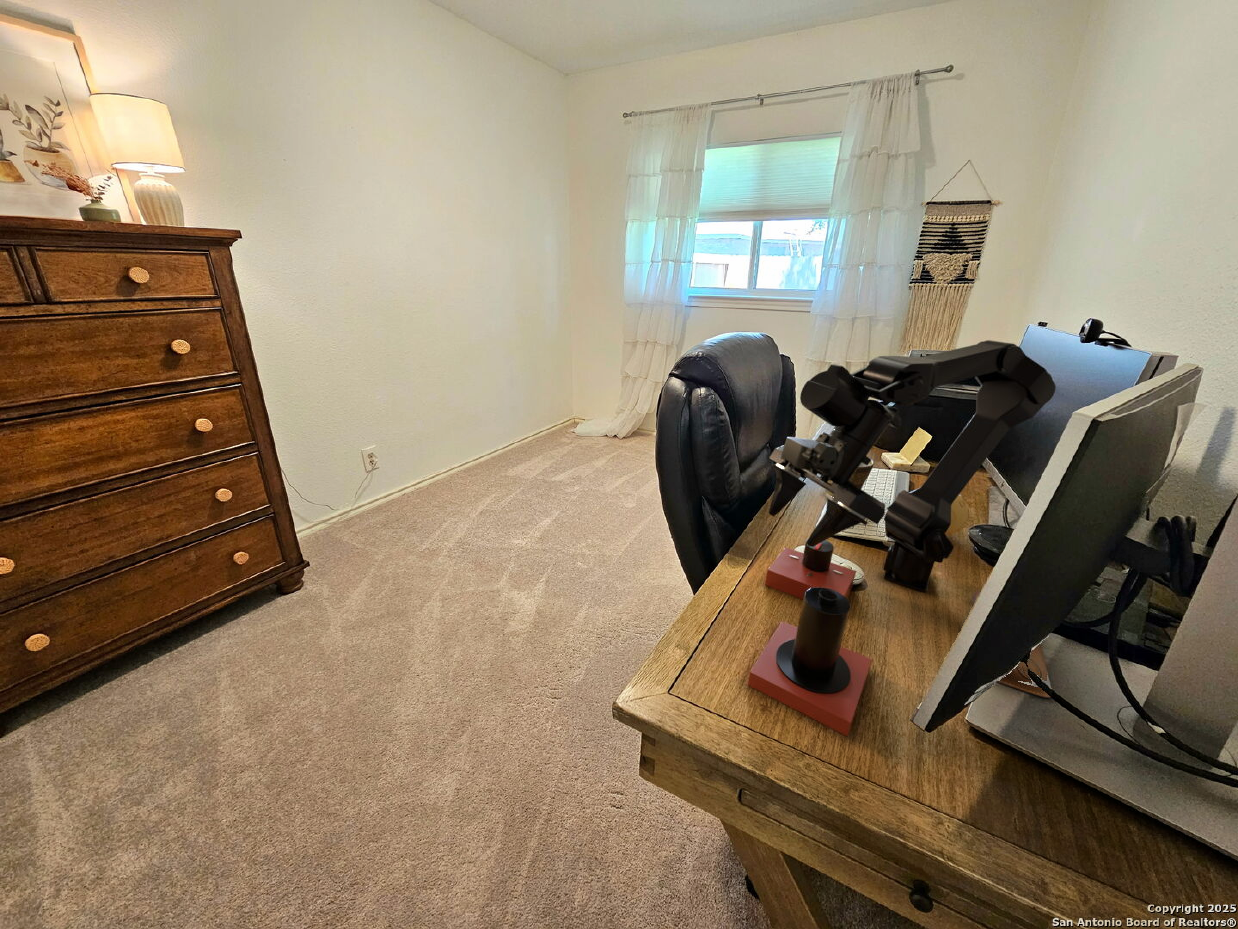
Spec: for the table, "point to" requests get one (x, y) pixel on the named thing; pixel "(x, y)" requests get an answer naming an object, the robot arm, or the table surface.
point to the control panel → (806, 576)
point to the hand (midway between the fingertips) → (789, 529)
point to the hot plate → (811, 681)
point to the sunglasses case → (1025, 670)
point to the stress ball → (958, 515)
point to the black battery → (820, 632)
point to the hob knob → (818, 556)
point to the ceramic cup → (856, 478)
